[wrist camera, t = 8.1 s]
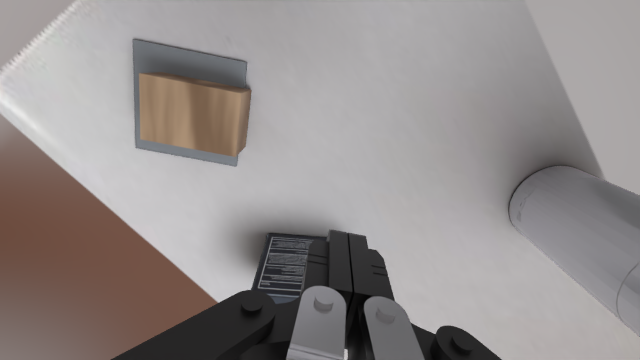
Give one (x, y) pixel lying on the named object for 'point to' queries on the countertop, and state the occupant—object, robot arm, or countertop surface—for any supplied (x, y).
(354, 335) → the robot arm
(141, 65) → the mat
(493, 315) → the countertop surface
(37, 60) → the countertop surface
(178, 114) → the walnut block
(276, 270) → the small box
